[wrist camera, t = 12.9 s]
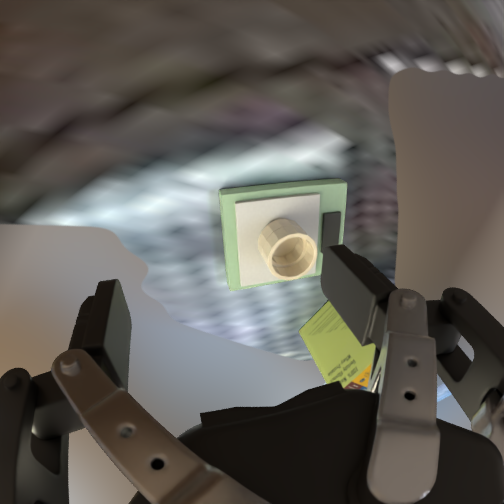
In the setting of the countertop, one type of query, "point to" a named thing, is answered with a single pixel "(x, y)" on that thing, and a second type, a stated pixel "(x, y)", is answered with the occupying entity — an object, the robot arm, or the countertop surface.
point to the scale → (274, 208)
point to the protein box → (337, 349)
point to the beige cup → (287, 249)
